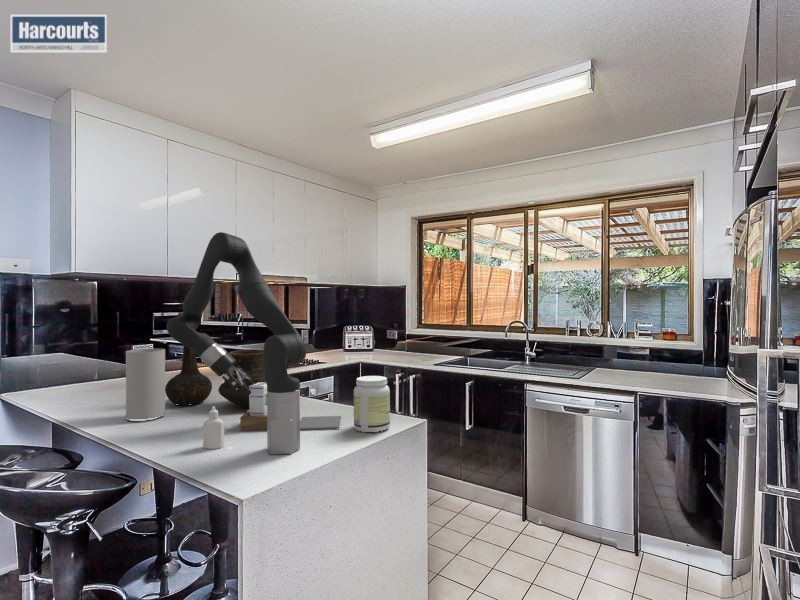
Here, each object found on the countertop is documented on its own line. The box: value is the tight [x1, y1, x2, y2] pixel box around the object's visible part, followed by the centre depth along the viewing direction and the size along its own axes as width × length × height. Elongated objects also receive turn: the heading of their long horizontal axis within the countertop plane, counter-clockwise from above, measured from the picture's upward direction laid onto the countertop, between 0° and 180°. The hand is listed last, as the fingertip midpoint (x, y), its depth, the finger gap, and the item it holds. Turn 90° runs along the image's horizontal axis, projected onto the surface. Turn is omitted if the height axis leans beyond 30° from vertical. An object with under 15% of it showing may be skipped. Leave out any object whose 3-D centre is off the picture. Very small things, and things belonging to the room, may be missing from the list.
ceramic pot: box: [218, 348, 266, 409], centre depth 178 cm, size 24×24×22 cm
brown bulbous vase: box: [165, 344, 213, 406], centre depth 182 cm, size 18×18×28 cm
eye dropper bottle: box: [202, 406, 225, 450], centre depth 127 cm, size 4×6×12 cm
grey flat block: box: [300, 415, 342, 431], centre depth 151 cm, size 14×14×1 cm
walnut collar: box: [239, 408, 267, 432], centre depth 149 cm, size 11×11×4 cm
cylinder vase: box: [125, 348, 166, 419], centre depth 160 cm, size 12×12×25 cm
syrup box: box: [249, 382, 267, 416], centre depth 149 cm, size 6×6×14 cm
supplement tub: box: [353, 375, 391, 433], centre depth 145 cm, size 12×12×17 cm
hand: (252, 392), depth 149 cm, fingers open, 8 cm apart
